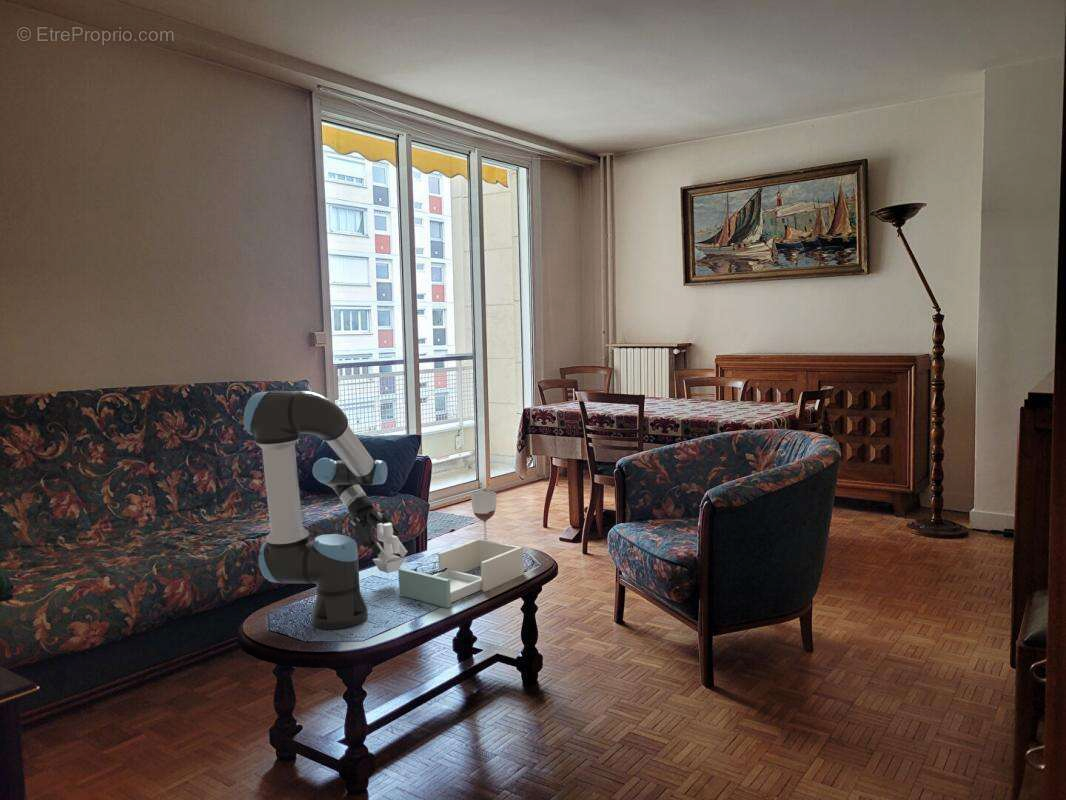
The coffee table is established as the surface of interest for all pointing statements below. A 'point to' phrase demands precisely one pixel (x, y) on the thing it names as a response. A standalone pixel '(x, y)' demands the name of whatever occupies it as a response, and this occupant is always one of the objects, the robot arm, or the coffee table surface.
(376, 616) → the coffee table surface
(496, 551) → the cubby
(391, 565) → the figurine
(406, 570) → the tray
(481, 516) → the wineglass
